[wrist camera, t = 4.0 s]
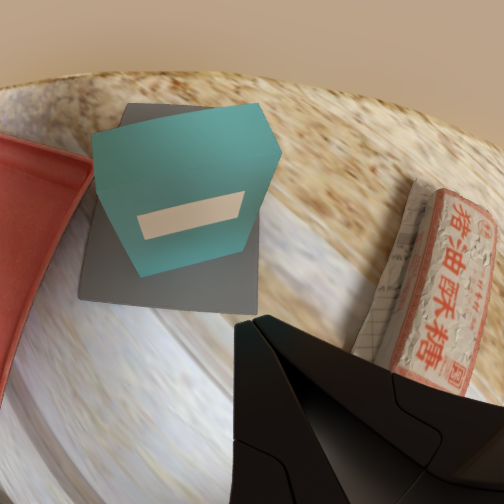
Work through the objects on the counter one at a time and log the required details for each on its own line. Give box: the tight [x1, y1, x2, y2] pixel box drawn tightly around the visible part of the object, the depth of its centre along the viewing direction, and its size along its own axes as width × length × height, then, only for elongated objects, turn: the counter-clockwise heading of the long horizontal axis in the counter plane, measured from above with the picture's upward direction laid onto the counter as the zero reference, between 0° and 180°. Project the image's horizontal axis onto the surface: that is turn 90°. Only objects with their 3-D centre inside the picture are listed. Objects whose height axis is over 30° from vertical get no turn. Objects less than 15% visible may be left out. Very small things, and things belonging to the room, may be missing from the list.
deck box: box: [92, 103, 282, 278], centre depth 15 cm, size 3×6×10 cm, turn 109°
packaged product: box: [351, 179, 498, 397], centre depth 20 cm, size 18×5×10 cm
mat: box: [78, 103, 259, 315], centre depth 21 cm, size 16×11×1 cm
